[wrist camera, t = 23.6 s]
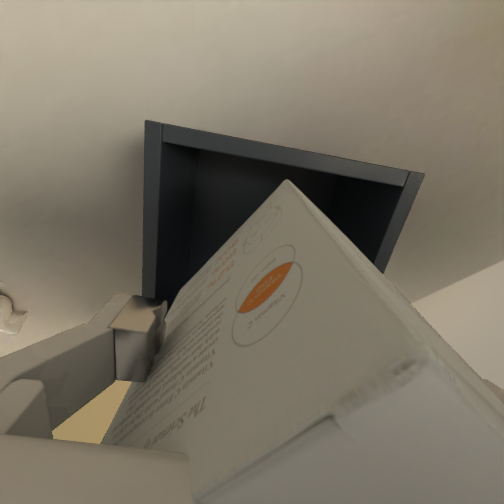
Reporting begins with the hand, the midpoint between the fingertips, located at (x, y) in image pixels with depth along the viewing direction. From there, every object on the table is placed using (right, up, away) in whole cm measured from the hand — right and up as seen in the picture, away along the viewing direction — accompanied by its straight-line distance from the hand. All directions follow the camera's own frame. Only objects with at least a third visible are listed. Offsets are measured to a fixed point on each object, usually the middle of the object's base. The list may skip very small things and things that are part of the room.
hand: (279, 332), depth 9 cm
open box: (0, +5, +16) cm, 17 cm away
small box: (0, +2, +5) cm, 5 cm away
